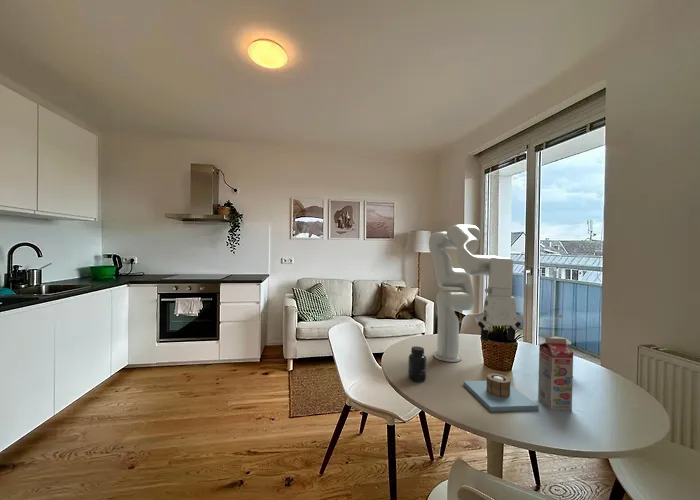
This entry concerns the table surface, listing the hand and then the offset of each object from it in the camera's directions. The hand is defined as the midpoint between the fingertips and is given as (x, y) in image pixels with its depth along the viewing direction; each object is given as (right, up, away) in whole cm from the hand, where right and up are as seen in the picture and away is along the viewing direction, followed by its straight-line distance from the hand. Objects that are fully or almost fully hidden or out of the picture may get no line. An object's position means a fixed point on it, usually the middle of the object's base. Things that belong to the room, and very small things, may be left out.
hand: (497, 340), depth 104 cm
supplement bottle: (-26, -19, +11) cm, 34 cm away
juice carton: (+16, -20, -6) cm, 26 cm away
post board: (-1, -19, -2) cm, 19 cm away
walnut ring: (-1, -18, -2) cm, 18 cm away
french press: (+34, -20, +19) cm, 44 cm away
